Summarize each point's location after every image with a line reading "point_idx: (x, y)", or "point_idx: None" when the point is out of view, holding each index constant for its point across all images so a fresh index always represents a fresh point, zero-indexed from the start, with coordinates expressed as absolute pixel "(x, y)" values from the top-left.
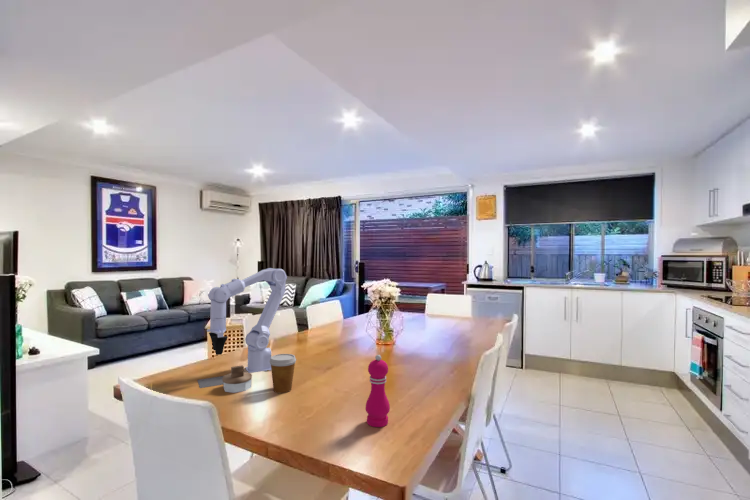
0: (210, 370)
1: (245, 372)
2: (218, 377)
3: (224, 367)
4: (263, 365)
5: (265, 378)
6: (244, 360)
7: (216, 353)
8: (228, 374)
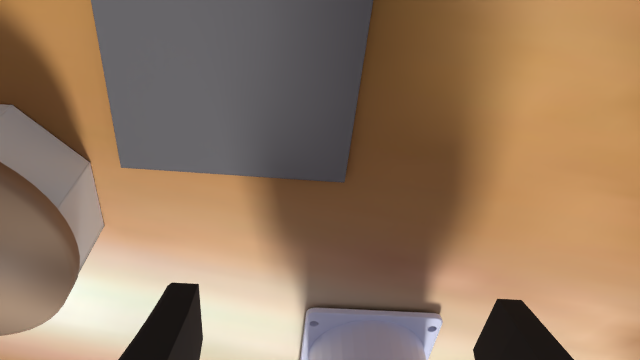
0: (613, 118)
1: (41, 318)
2: (327, 132)
3: (591, 221)
4: None
5: None
6: (626, 342)
7: (158, 305)
8: (17, 212)
